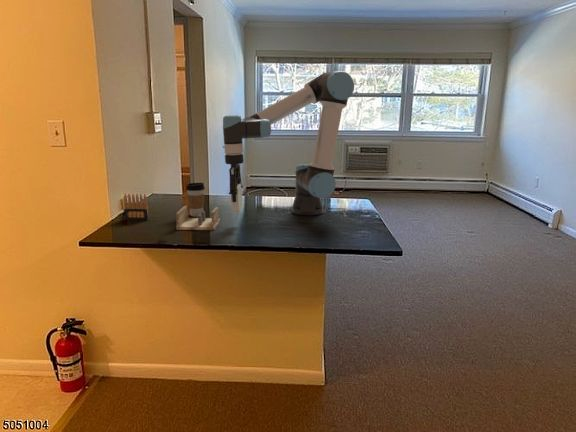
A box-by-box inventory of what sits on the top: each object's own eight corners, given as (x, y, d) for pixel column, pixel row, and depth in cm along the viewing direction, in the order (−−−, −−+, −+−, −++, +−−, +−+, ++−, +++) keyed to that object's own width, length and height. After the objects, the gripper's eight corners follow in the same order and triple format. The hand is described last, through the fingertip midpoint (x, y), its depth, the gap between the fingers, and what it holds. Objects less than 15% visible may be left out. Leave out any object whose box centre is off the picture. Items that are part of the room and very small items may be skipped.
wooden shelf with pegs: (220, 220, 197) (219, 205, 195) (214, 230, 184) (213, 213, 182) (184, 220, 198) (184, 205, 196) (176, 229, 184) (175, 213, 182)
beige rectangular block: (242, 206, 193) (241, 183, 190) (239, 212, 184) (237, 188, 181) (235, 206, 193) (234, 183, 191) (231, 212, 184) (230, 188, 181)
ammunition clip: (149, 219, 200) (147, 193, 197) (148, 220, 198) (146, 194, 195) (126, 218, 200) (123, 192, 197) (124, 219, 198) (122, 193, 195)
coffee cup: (201, 217, 202) (200, 185, 198) (184, 216, 204) (182, 184, 200) (208, 213, 210) (207, 182, 206) (191, 212, 212) (190, 181, 208)
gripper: (229, 150, 193) (232, 199, 199) (219, 157, 171) (223, 213, 177) (246, 150, 193) (248, 199, 199) (239, 157, 171) (242, 212, 177)
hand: (237, 206), depth 188 cm, fingers closed on beige rectangular block, 10 cm apart
